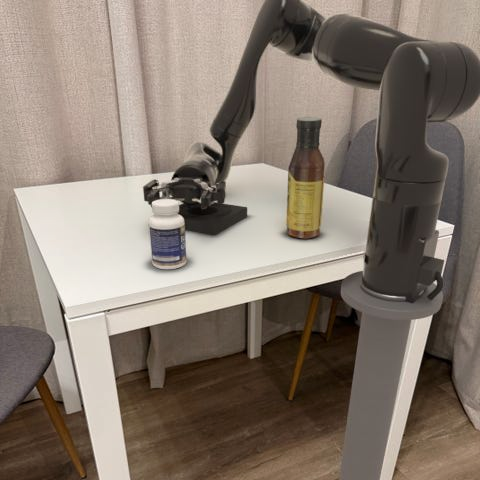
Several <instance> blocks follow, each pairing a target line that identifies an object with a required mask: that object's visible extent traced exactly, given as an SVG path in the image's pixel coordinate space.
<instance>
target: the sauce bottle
mask: <svg viewBox="0 0 480 480" xmlns="http://www.w3.org/2000/svg"><path fill="white" fill-rule="evenodd" d="M322 121H323V119H322V118H321V117H317V116H302V117H301V116H300V117H298V118H296V123H295V124H296V126H295V127H296V130H297V131H296V143H295V149H294V151H293V154H292V156H291V160H290V162H289V165H288V169H287V194H286V195H287V196H286V197H287V198H286V221H285V222H286V232H287V234H288V236H291V237H293V238H297V239H302V240H303V239H305V240H308V239H312V238H316V237H318V236H319V235H320V233H321V232H320V230H321V226H322V218H323V217H322V216H323V202H324V187H325V165H326V163H325V158H324V156H323V153H322V152H321V149H320V148H319V146H320V134H321V128H322Z"/></svg>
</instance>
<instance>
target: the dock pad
mask: <svg viewBox="0 0 480 480" xmlns="http://www.w3.org/2000/svg"><path fill="white" fill-rule="evenodd" d="M178 214H179V215H181V216H182V217H183V219H184V223H185V231H190V232H195V233H200V234H201V233H202V234H208V235H213V236H216V235H217V234H219V233H220V232H223V231H224V230H226V229H228V228H229V227H231V226H234V225H235V224H237V223H239V222H241V221H242V220H244V219H245V218H248V206H243V205H242V206H241V205H235V204H228V203H222V204H220V203H217V201H214V203H213V204H211V205H210V206H207V208H206V209H201V203H200V204H197V205H188V204H185V203H183V202H182V203H179V212H178Z"/></svg>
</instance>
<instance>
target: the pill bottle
mask: <svg viewBox="0 0 480 480" xmlns="http://www.w3.org/2000/svg"><path fill="white" fill-rule="evenodd" d="M179 205H180V201H177V200H173V199H161V200H156V201H153V202H152V207H151V212H152V214H153V215H151V216H150V217H149V219H148V231H149V232H148V233H149V242H150V243H149V244H150V255H151V263H152V265H153V266H154V267H155V268H157V269H160V270H174V269H178V268H179V269H180V268H181V267H184V266H185V265H186V263H187V242H186V230H185V223H184V219H183V217H182V216H181V215H179V214H178V212H179Z"/></svg>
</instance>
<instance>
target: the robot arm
mask: <svg viewBox="0 0 480 480" xmlns="http://www.w3.org/2000/svg"><path fill="white" fill-rule="evenodd" d="M268 46H270V47H271V48H273V49H275V50H276V51H277V52H280V53H282V54H283V55H285V56H286V57H289V58H291V59H294V60H299V61H304V62H308V63H312V64H314V65H315V67H316V69H317V70H319V71H320V72H321V73H322V74H324V75H325V76H327V77H329V78H331V79H333V80H335V81H336V82H339V83H341V84H344V85H347V86H350V87H353V88H354V87H355V88H360V89H366V90H373V91H379V93H378V101H377V102H378V103H377V116H376V117H377V118H376V129H375V130H376V131H375V139H374V151H375V159H376V168H375V169H376V170H375V177H374V184H373V185H374V186H373V192H372V200H371V207H370V215H369V221H368V229H367V237H366V244H365V249H364V250H363V255H362V257H363V258H362V259H363V260H362V261H363V266H362V270H361V271H362V279H361V283H360V287H361V289H362V290H363V291H364V292H365V293H367V294H368V295H370V296H373V297H375V298H378V299H382V300H387V301H397V302H409V303H414V302H415V301H416V300H417V299H418V298H420V297H421V296H422V295H423V294H424V293H425V292H426V291H427V289H428V286H430V285H431V284H432V283H434V282H436V285H437V286H436V288H435V289H434V290H433V291H432V292H431V293H430V294H429V295H428V296H427V298H428V299H430V300H432V299H433V298H434V297H436V296H437V295H438V294H439V293H440V292H441V291H443V288H444V280H443V277H442V273H443V270H444V269H443V268H444V263H445V259H442V258H439V257H435V256H436V255H435V254H436V250H437V245H438V242H439V241H438V240H439V237H440V231H439V230H438V229H436V228H437V224H438V219H439V214H440V210H441V209H440V208H441V203H442V199H443V195H444V189H445V186H446V180H447V177H448V170H449V165H450V159H449V158H448V156H447V155H446V154H445V153H443V152H441V151H438V150H436V149H433V148H432V147H431V146H430V145H429V144H428V142H427V127H428V124H429V123H442V122H446V121H451V120H454V119H456V118H459V117H461V116H463V115H464V114H466V113H467V112H468V111H469V110H470V109H472V107H474V106H475V104H476V103H477V101H478V100H479V98H480V57H479V56H478V54H477V53H476V52H475V51H474V49H472V48H471V47H470V46H468V45H467V44H464V43H462V42H459V41H438V40H432V39H424V38H419V37H417V36H416V37H415V36H412V35H409V34H407V33H405V32H403V31H400V30H398V29H395V28H393V27H392V26H388V25H385V24H383V23H381V22H377V21H375V20H372V19H370V18H368V17H363V16H361V15H358V14H354V13H349V12H338V13H334V14H332V15H330V16H328V17H327V16H325V15H324V14H322V13H321V12H320V11H319V10H317V9H316V8H315V7H313V6H312V5H311V4H309V3H308V2H306V1H305V0H264V1H263V3H262V4H261V6H260V8H259V10H258V12H257V15H256V17H255V20H254V22H253V25H252V27H251V29H250V31H249V35H248V38H247V41H246V43H245V45H244V47H243V50H242V53H241V55H240V59H239V61H238V65H237V68H236V70H235V73H234V76H233V78H232V80H231V82H230V85H229V88H228V90H227V92H226V95H225V97H224V99H223V100H222V102H221V104H220V105H219V108H218V110H217V111H216V113H215V115H214V117H213V119H212V121H211V123H210V125H209V128H208V132H209V134H210V136H211V137H212V139H214V141H216V143H217V144H218V145H219V146H220V148H221V152H220V151H219V150H217V149H216V148H214V147H212V146H211V145H209V144H208V143H207V142H205V141H202V140H201V141H200V140H197V141H195V142H193V143H191V145H190V146H189V147H188V148H187V150H186V152H185V155H184V158H183V163H182V164H181V165H180V166H179V167H178V168H177V169H176V170H175V171H174V172H173V174H172V176H171V179H170V180H167V181H163V182H161V184H160V182H159V180H158V179H151V180H150V181H149V182H148V183H146V184H145V185H143V186H142V190H143V191H142V192H143V201H144V202H147V204H148V205H149V206H150V207H151V208H152V202H153V201H156V200H161V199H173V200H177V201H178V202H181V203H182V204H183V203H185V204H188V205H197V204H200V203H201V209H206V208H207V206H210V205H211V204H213V203H214V202H216V203H220V204H222V203H223V204H225V202H226V197H227V182H226V181H227V179H228V178H229V175H230V173H231V170H232V164H233V160H234V157H235V153H236V150H237V148H238V146H239V143H240V141H241V139H242V138H243V136H244V135H245V132H246V131H247V129H248V127H249V125H250V123H251V122H252V120H253V118H254V116H255V113H256V109H257V104H258V77H259V69H260V64H261V61H262V58H263V56H264V53H265V52H266V49H267V48H268Z"/></svg>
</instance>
